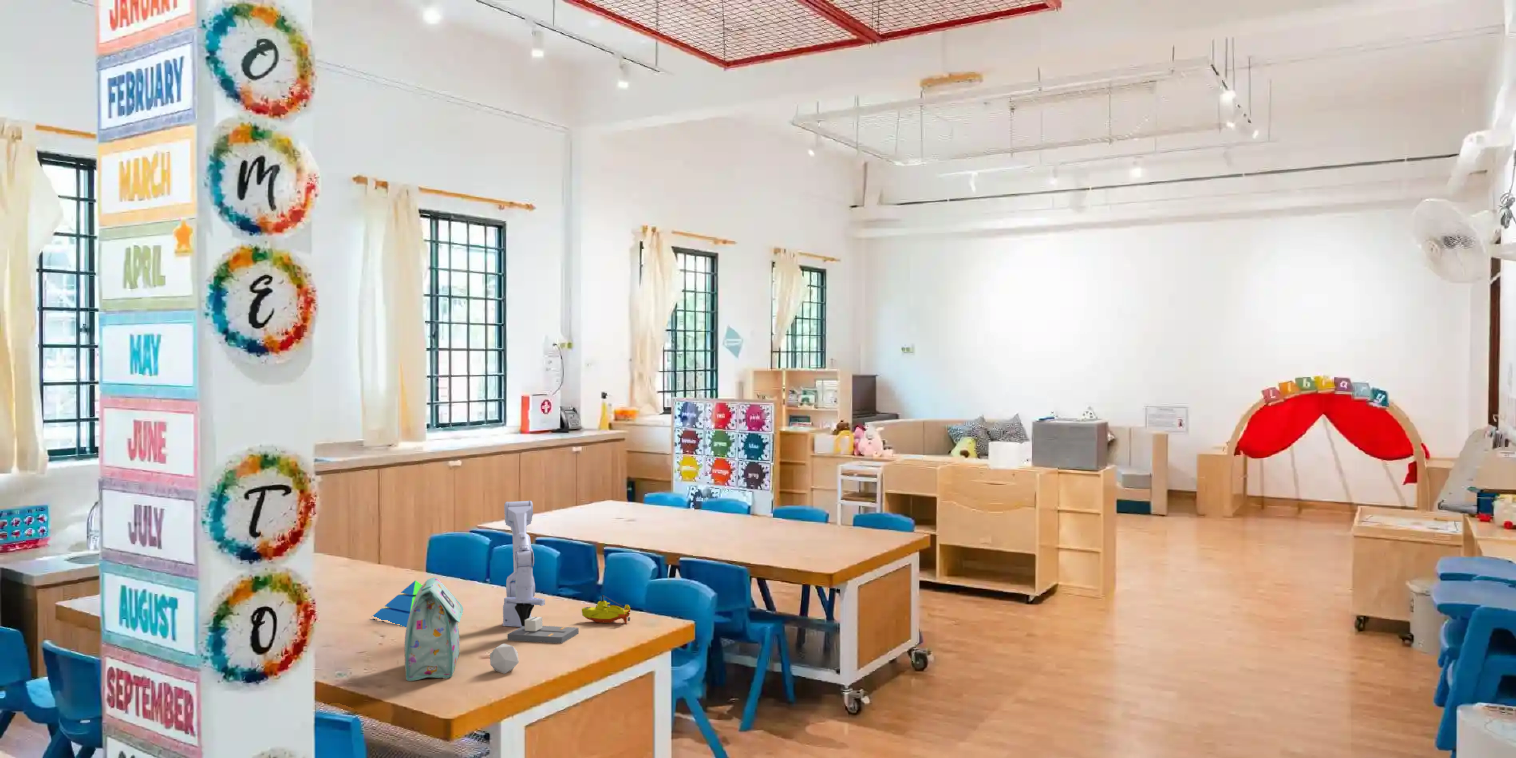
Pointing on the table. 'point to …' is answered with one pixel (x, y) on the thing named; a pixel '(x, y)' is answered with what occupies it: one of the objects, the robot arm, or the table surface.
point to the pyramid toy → (400, 606)
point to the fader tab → (533, 623)
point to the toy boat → (606, 612)
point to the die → (504, 658)
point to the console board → (544, 634)
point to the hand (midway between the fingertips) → (524, 625)
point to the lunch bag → (432, 633)
